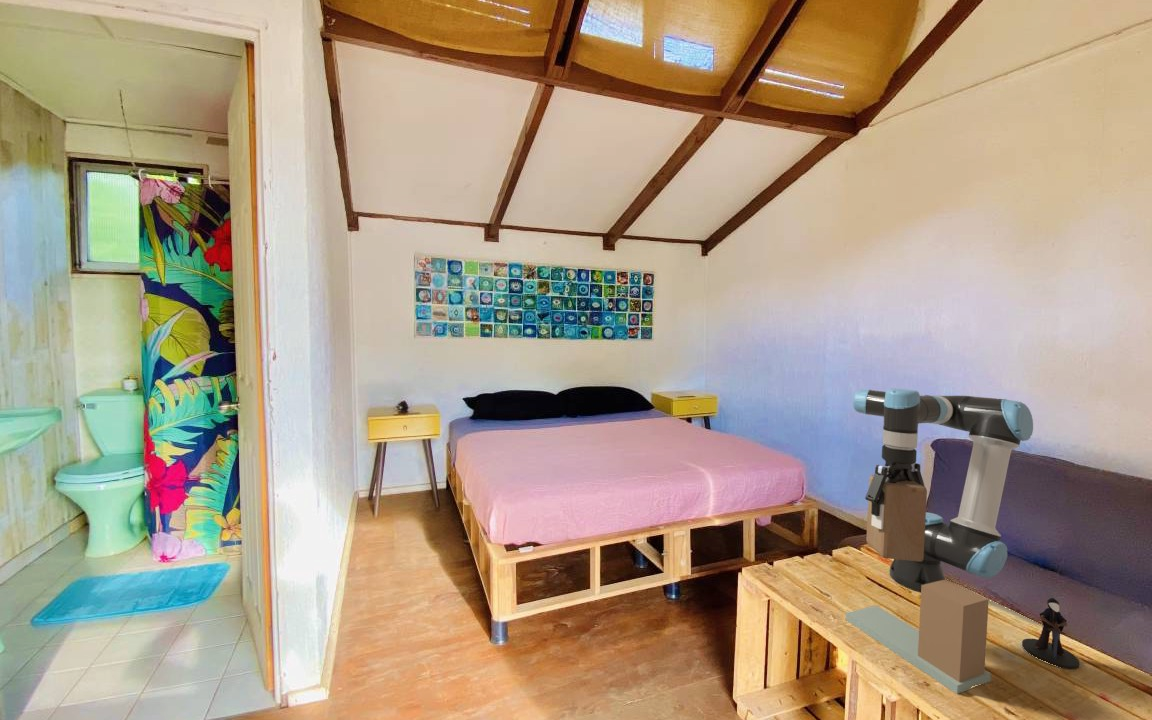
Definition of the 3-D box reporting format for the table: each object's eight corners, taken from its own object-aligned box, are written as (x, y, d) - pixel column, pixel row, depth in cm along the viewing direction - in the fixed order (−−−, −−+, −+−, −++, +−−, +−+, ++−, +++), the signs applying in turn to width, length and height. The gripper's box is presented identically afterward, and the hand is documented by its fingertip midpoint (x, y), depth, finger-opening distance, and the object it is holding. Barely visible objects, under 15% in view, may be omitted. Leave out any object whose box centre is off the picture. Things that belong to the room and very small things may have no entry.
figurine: (1027, 658, 112) (1031, 600, 112) (1017, 636, 121) (1021, 583, 120) (1086, 675, 107) (1090, 615, 106) (1071, 652, 115) (1075, 596, 114)
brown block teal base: (875, 612, 131) (878, 545, 130) (990, 681, 104) (995, 599, 103) (845, 619, 127) (848, 551, 126) (956, 694, 100) (961, 608, 99)
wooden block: (925, 563, 114) (929, 487, 113) (882, 559, 116) (886, 484, 115) (903, 546, 124) (907, 476, 123) (864, 542, 126) (867, 473, 125)
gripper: (916, 441, 126) (912, 514, 127) (852, 445, 118) (848, 523, 119) (945, 447, 119) (941, 524, 120) (879, 452, 111) (875, 535, 112)
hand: (895, 524), depth 119 cm, fingers closed on wooden block, 13 cm apart
